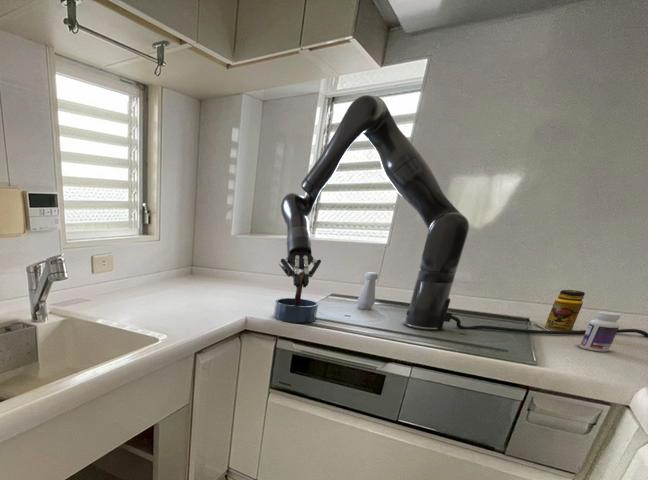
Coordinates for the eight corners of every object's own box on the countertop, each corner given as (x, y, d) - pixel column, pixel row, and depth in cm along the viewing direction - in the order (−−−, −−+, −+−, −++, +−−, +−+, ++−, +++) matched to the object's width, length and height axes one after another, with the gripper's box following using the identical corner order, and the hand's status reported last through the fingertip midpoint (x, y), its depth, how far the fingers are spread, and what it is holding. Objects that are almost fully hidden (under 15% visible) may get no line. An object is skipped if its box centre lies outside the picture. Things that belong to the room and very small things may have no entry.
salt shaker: (375, 310, 147) (383, 274, 142) (358, 309, 148) (366, 273, 143) (370, 306, 152) (378, 271, 147) (354, 305, 153) (361, 271, 148)
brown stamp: (303, 311, 136) (310, 271, 131) (303, 315, 132) (310, 273, 127) (287, 310, 138) (293, 270, 133) (287, 313, 134) (293, 272, 128)
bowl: (315, 315, 138) (317, 300, 136) (315, 325, 126) (318, 308, 124) (275, 312, 142) (277, 296, 140) (272, 321, 131) (274, 304, 128)
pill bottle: (613, 351, 105) (630, 314, 102) (599, 352, 104) (616, 316, 100) (587, 345, 110) (602, 310, 106) (574, 346, 109) (589, 311, 105)
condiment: (548, 331, 122) (564, 292, 118) (535, 324, 130) (550, 287, 125) (579, 334, 120) (596, 294, 115) (564, 327, 127) (580, 289, 123)
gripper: (280, 235, 133) (282, 278, 127) (323, 235, 132) (327, 279, 125) (275, 250, 140) (277, 292, 134) (316, 251, 139) (319, 293, 132)
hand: (301, 285), depth 130 cm, fingers closed on brown stamp
